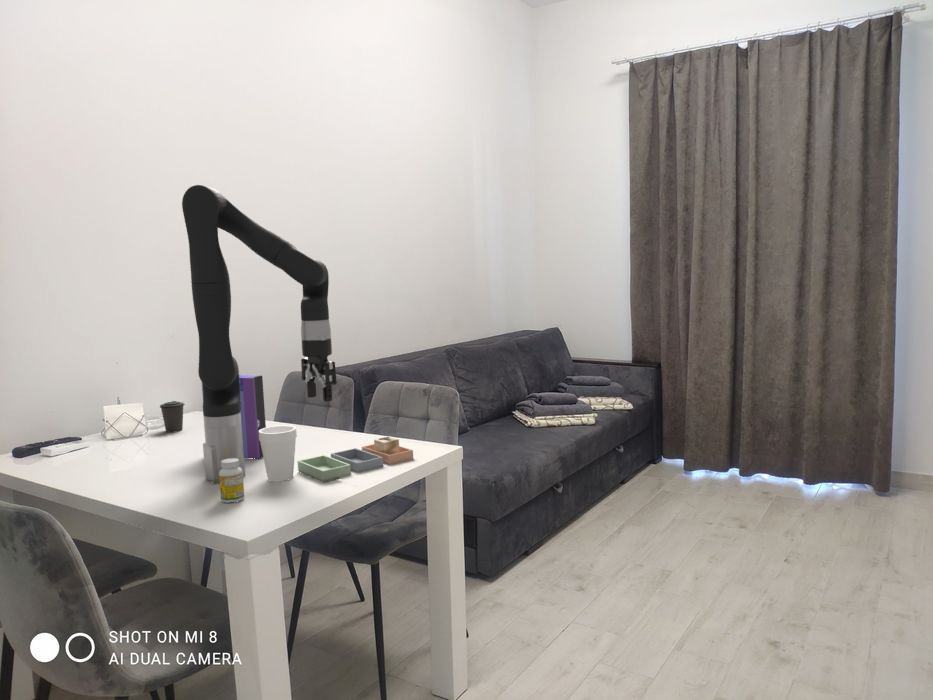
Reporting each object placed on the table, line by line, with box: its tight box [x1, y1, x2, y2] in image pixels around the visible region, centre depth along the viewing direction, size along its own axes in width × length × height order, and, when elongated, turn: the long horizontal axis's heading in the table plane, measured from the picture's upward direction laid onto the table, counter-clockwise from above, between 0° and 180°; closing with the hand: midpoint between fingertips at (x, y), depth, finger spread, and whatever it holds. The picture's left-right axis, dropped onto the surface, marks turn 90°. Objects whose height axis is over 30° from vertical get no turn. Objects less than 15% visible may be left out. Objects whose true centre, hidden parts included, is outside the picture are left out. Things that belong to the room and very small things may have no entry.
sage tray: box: [297, 454, 352, 483], centre depth 186 cm, size 8×14×3 cm, turn 40°
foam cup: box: [259, 424, 298, 482], centre depth 182 cm, size 10×9×13 cm
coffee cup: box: [159, 400, 186, 433], centre depth 244 cm, size 8×8×10 cm
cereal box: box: [201, 374, 267, 460], centre depth 206 cm, size 17×5×24 cm, turn 73°
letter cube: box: [373, 436, 400, 455], centre depth 198 cm, size 5×5×5 cm
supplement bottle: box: [219, 458, 245, 504], centre depth 166 cm, size 5×5×10 cm
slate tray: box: [330, 448, 384, 473], centre depth 192 cm, size 8×14×3 cm, turn 40°
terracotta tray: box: [361, 443, 414, 465], centre depth 198 cm, size 8×14×3 cm, turn 40°
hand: (319, 399), depth 183 cm, fingers open, 8 cm apart
